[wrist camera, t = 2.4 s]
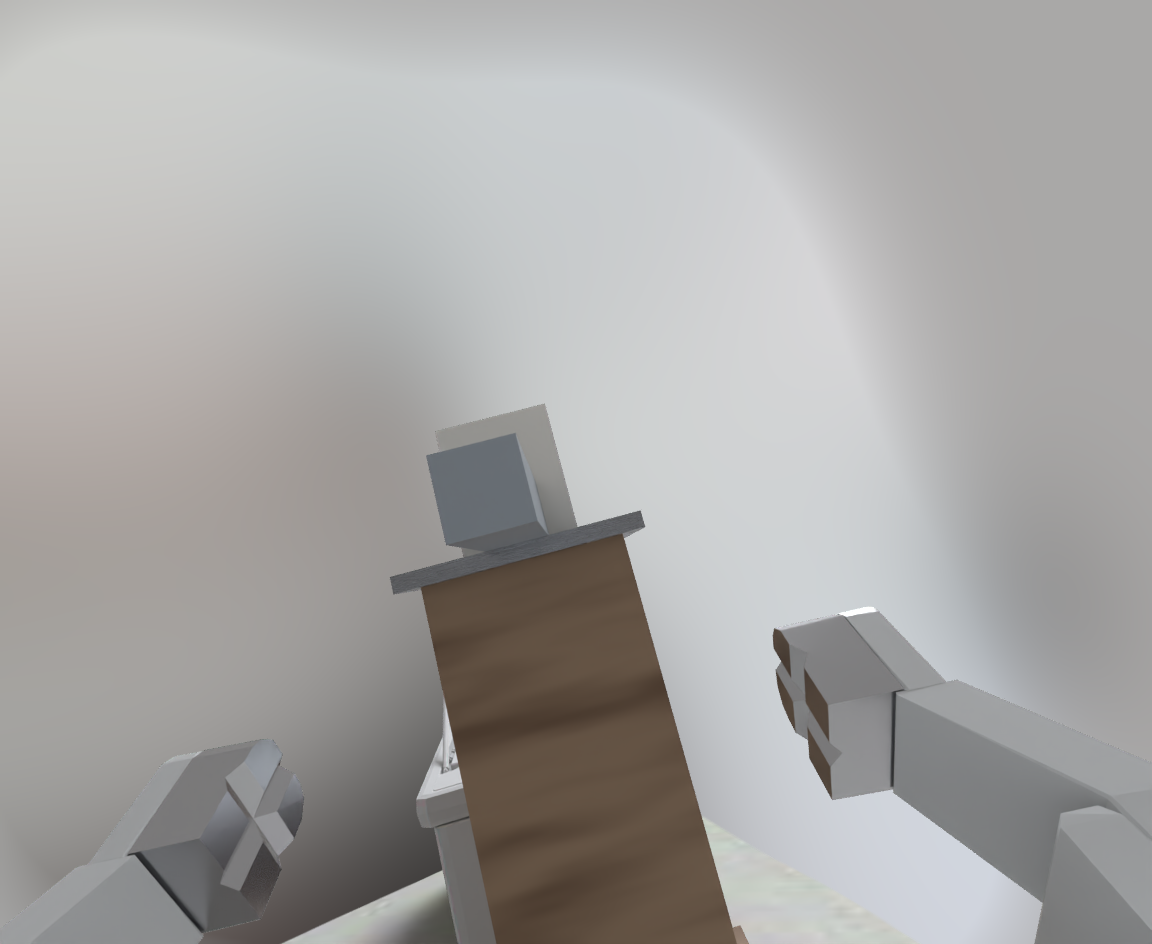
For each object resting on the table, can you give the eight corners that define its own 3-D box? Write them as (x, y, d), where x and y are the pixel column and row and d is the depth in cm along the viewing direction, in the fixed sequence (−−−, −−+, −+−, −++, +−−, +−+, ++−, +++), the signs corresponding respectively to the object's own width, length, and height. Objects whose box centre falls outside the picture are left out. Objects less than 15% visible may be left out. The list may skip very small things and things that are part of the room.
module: (582, 508, 17) (530, 312, 18) (399, 557, 17) (357, 354, 18) (576, 537, 35) (549, 435, 36) (485, 561, 34) (461, 457, 35)
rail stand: (841, 1159, 21) (652, 506, 25) (512, 1271, 20) (375, 580, 24) (748, 955, 31) (627, 524, 36) (532, 1023, 31) (435, 575, 35)
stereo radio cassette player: (595, 990, 32) (515, 652, 35) (458, 1046, 31) (388, 689, 34) (561, 832, 52) (512, 627, 56) (477, 862, 51) (432, 649, 54)
